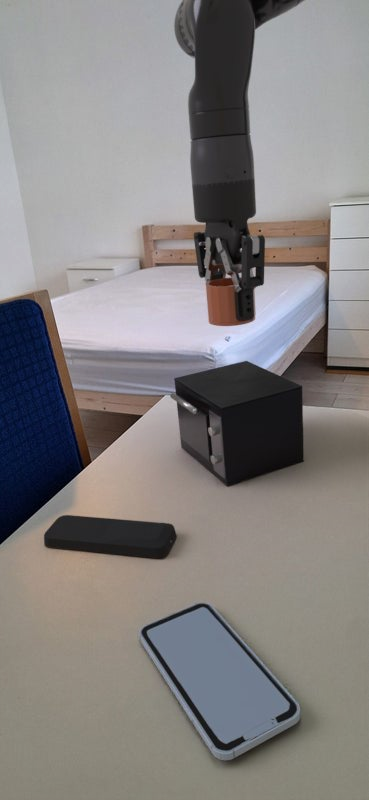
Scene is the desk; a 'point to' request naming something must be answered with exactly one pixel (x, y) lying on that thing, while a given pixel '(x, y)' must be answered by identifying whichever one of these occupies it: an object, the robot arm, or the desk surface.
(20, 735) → the desk surface
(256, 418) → the toaster oven
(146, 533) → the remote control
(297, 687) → the desk surface
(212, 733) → the smartphone
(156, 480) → the desk surface
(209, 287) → the cup
